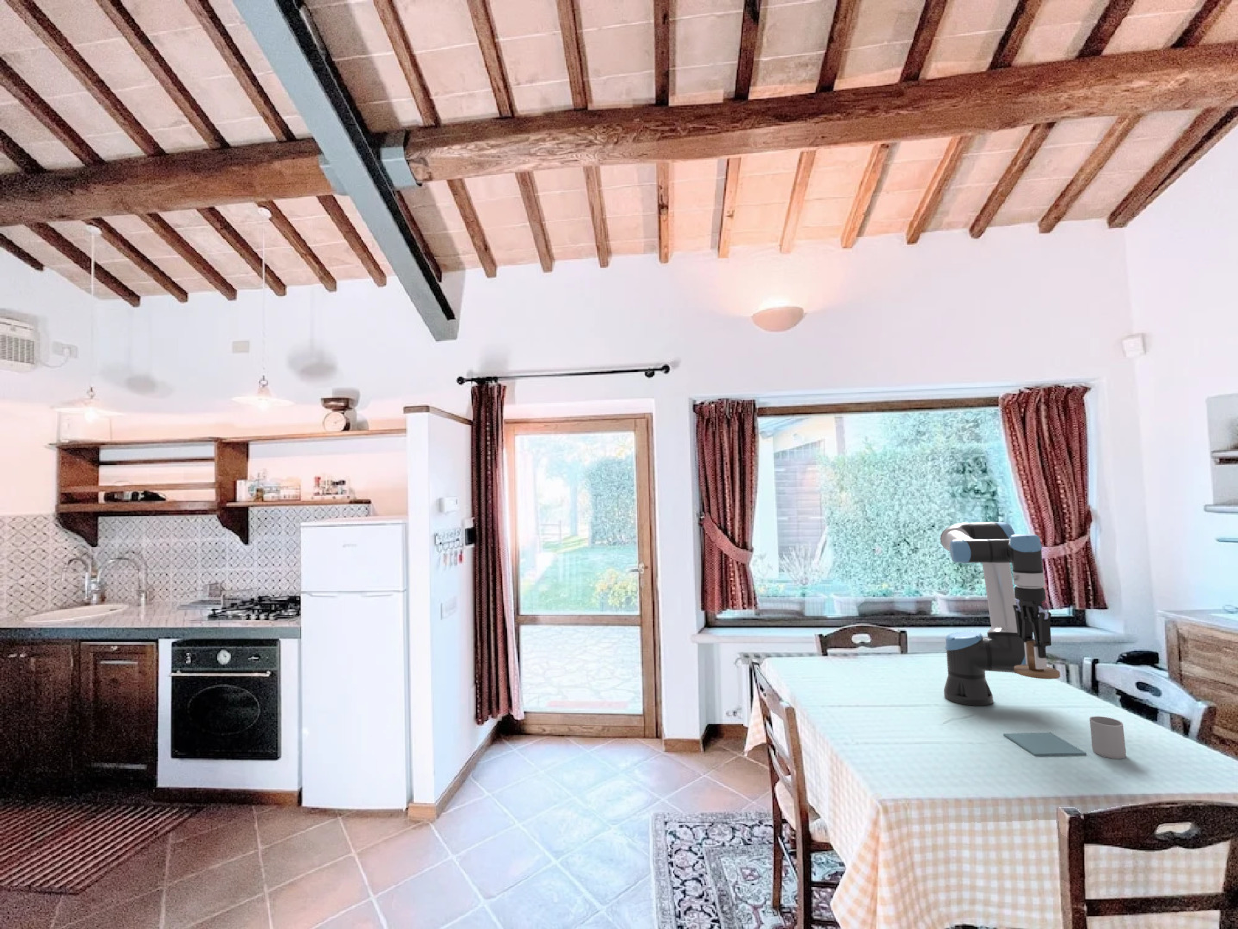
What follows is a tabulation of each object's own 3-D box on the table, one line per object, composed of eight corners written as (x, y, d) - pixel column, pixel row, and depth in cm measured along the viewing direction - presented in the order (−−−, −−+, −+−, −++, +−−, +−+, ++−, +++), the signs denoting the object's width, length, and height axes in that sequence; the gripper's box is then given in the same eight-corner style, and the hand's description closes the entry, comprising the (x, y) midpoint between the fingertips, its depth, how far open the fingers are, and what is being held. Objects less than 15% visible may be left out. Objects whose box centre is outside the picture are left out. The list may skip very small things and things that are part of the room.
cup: (1100, 758, 156) (1097, 725, 157) (1082, 743, 166) (1079, 712, 167) (1132, 760, 154) (1128, 727, 155) (1112, 745, 164) (1109, 713, 165)
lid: (1005, 668, 173) (1003, 638, 174) (1042, 667, 172) (1040, 637, 173) (1030, 679, 162) (1027, 647, 163) (1069, 678, 161) (1066, 646, 162)
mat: (1003, 735, 173) (1003, 733, 173) (1050, 734, 172) (1050, 732, 172) (1034, 756, 159) (1034, 753, 159) (1086, 755, 159) (1086, 752, 159)
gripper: (999, 583, 177) (1005, 659, 176) (1035, 591, 161) (1042, 675, 159) (1023, 582, 177) (1030, 658, 175) (1062, 590, 160) (1070, 674, 159)
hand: (1036, 666), depth 167 cm, fingers closed on lid, 3 cm apart
